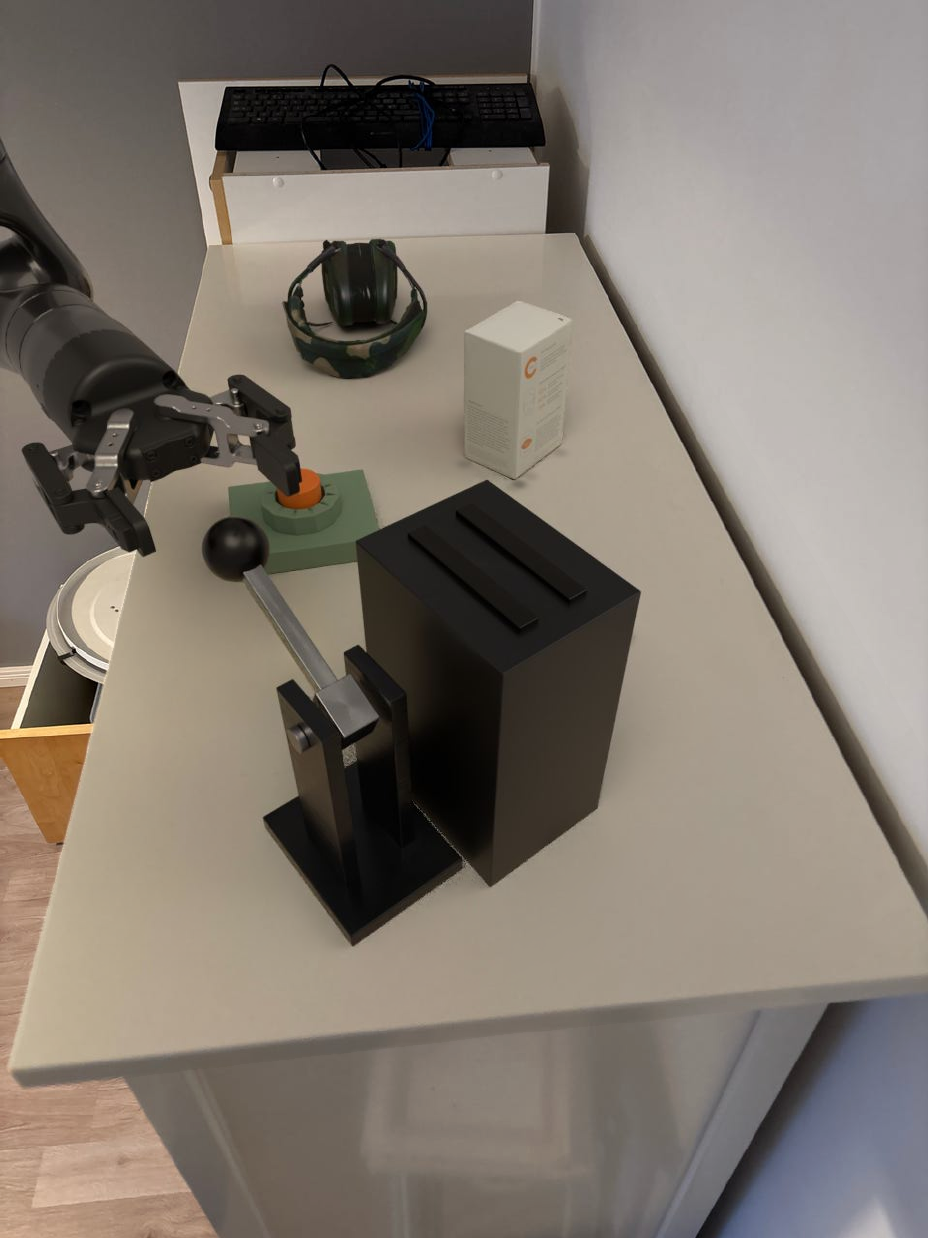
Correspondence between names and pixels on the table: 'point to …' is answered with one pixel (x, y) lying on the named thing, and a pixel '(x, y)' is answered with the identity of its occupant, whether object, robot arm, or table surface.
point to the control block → (309, 521)
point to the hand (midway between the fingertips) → (223, 510)
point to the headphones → (356, 308)
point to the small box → (515, 387)
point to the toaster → (498, 668)
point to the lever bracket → (357, 809)
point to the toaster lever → (286, 623)
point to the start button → (303, 492)
